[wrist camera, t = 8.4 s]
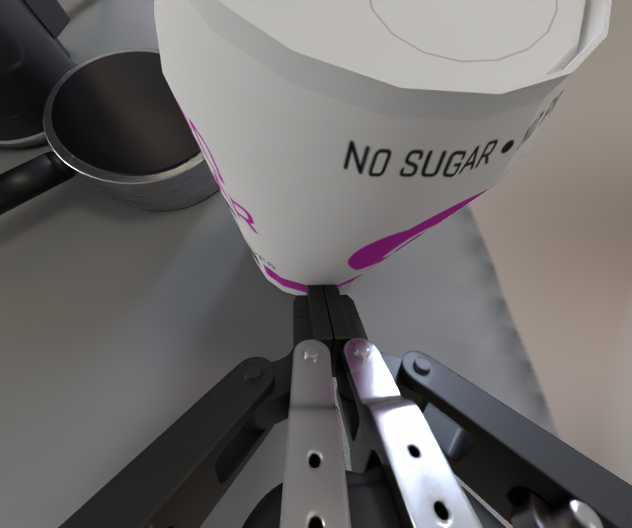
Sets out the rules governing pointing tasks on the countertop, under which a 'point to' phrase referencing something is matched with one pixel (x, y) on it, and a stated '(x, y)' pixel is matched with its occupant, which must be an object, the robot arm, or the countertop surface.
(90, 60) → the saucepan
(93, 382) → the countertop surface
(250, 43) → the supplement can
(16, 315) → the countertop surface
